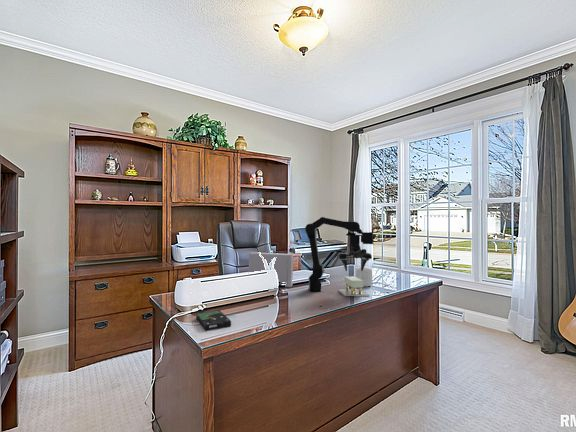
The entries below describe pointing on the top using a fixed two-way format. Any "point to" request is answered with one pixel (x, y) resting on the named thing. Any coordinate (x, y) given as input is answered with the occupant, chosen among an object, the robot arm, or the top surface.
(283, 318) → the top surface
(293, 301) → the top surface
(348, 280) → the pale green block
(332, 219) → the robot arm
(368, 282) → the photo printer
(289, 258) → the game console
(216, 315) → the disk drive
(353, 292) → the chassis
